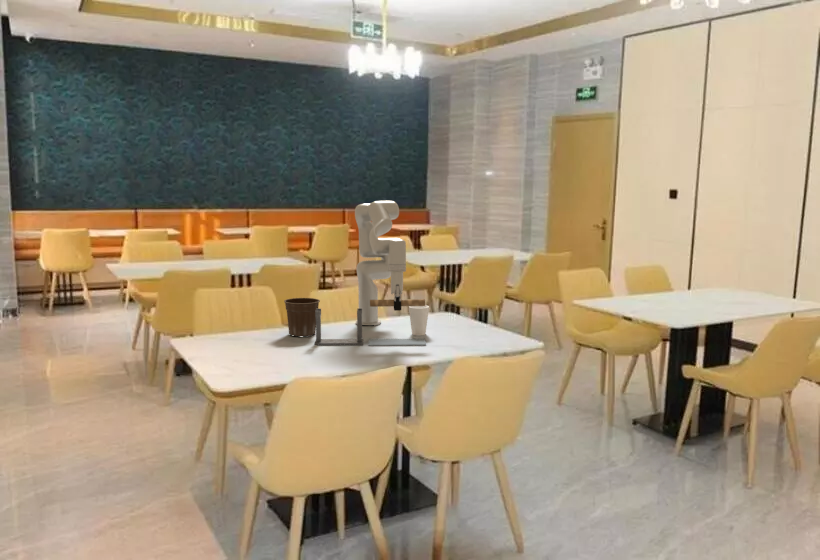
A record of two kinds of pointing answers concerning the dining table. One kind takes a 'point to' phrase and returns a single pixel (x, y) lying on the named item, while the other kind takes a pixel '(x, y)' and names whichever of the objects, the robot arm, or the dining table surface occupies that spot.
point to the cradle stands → (338, 341)
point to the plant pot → (301, 316)
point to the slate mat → (397, 342)
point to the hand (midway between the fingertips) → (397, 309)
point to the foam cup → (418, 319)
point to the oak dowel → (403, 302)
